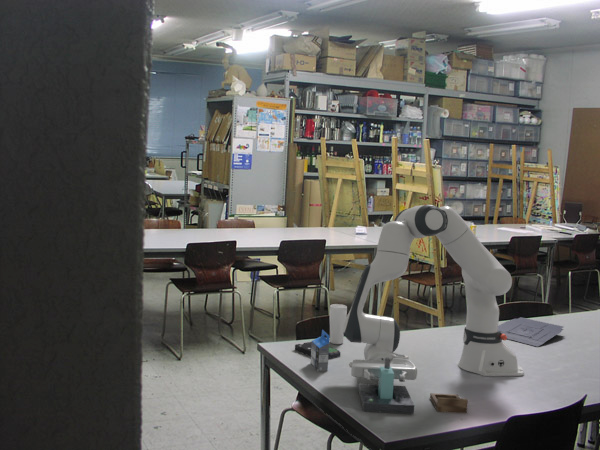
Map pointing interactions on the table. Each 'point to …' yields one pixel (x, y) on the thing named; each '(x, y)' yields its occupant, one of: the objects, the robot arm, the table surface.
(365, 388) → the port block
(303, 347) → the disk drive
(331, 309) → the drinking glass
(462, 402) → the open wooden frame
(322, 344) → the blue product box
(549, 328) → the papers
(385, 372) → the plug
